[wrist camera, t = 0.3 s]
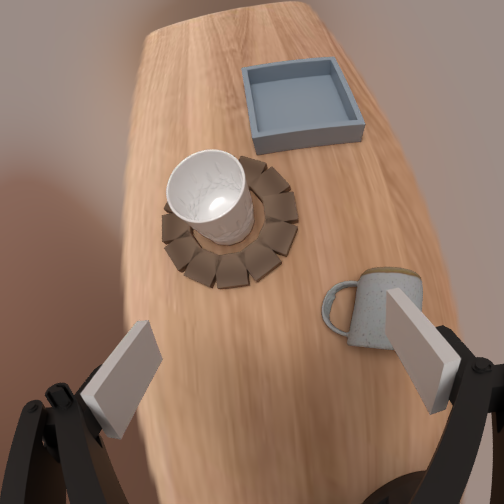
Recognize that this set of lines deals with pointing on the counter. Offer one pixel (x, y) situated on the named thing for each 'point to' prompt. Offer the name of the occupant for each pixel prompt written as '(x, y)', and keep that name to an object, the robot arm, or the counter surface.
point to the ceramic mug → (373, 304)
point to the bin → (300, 105)
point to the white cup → (212, 196)
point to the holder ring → (253, 256)
